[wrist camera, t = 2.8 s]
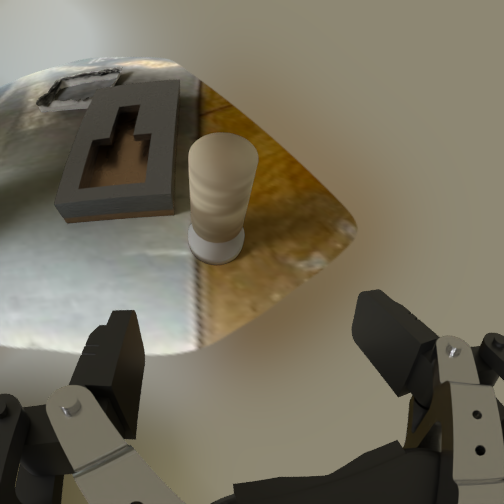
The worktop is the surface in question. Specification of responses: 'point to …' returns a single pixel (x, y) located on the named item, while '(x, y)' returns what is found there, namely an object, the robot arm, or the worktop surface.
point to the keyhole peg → (219, 195)
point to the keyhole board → (123, 155)
